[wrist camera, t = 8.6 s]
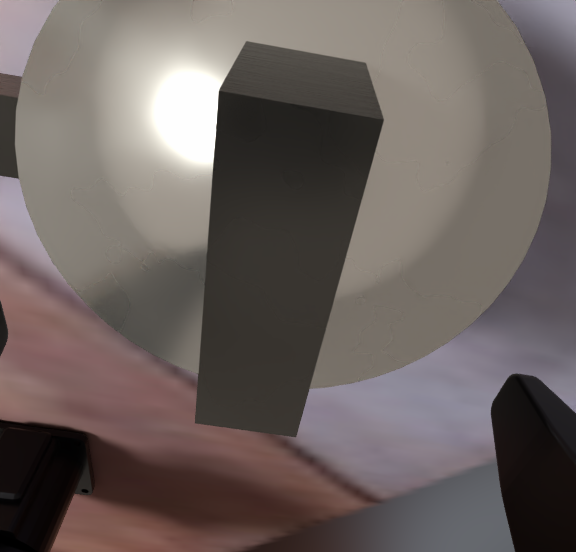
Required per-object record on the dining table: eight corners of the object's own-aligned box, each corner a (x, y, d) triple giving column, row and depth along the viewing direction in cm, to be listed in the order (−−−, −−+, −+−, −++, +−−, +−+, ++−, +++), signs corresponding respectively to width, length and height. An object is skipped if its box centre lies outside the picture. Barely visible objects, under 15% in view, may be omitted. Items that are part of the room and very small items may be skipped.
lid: (433, 386, 18) (464, 515, 14) (67, 333, 17) (-5, 453, 13) (645, -36, 10) (846, -4, 6) (-10, -166, 9) (-235, -220, 5)
